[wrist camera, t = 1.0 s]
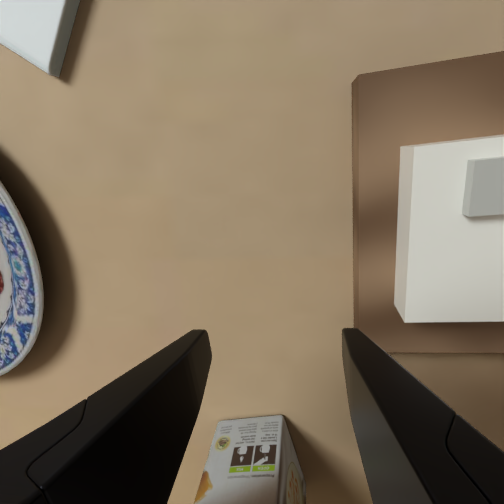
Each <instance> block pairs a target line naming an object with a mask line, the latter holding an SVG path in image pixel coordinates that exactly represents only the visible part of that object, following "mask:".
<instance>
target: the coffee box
mask: <svg viewBox="0 0 504 504" xmlns="http://www.w3.org/2000/svg"><path fill="white" fill-rule="evenodd" d="M194 504H306V483H305V480H304V476H303V473H302V470H301V467H300V464H299V461H298V458H297V455H296V452H295V449H294V446H293V443H292V440H291V437H290V434H289V431H288V428H287V425H286V422H285V419H284V417H283V416H282V415H275V416H264V417H254V418H244V419H234V420H223V421H220V422H219V423H218V425H217V428H216V431H215V435H214V438H213V441H212V445H211V448H210V451H209V454H208V458H207V461H206V464H205V468H204V471H203V474H202V478H201V482H200V485H199V488H198V491H197V494H196V498H195V501H194Z"/></svg>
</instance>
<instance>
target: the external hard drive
mask: <svg viewBox="0 0 504 504" xmlns="http://www.w3.org/2000/svg"><path fill="white" fill-rule="evenodd" d="M79 2H80V0H0V43H1V44H2V45H4V46H5V47H7V48H8V49H10V50H12V51H13V52H15V53H16V54H18V55H20V56H21V57H23V58H24V59H26V60H27V61H29V62H30V63H32V64H34V65H35V66H37V67H38V68H40V69H41V70H43V71H45V72H46V73H48V74H49V75H53V76H57V77H59V76H60V72H61V68H62V65H63V61H64V57H65V54H66V50H67V46H68V43H69V39H70V35H71V32H72V28H73V24H74V21H75V17H76V13H77V10H78V6H79Z"/></svg>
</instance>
